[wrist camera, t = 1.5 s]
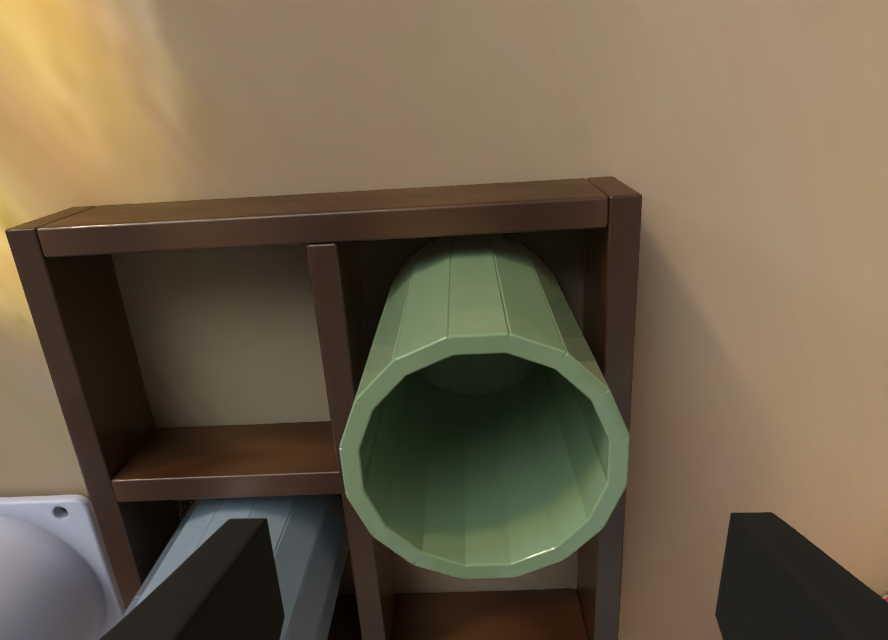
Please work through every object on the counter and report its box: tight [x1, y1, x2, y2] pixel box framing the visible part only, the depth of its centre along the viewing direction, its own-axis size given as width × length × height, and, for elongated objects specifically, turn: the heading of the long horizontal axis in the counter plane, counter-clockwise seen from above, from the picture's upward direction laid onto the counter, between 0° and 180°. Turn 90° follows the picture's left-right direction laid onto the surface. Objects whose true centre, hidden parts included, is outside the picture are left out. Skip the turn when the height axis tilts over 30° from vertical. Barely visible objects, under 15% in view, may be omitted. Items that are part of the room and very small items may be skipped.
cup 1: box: [119, 494, 349, 640], centre depth 19 cm, size 6×6×8 cm
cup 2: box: [339, 234, 630, 579], centre depth 16 cm, size 6×6×8 cm
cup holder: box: [5, 177, 642, 640], centre depth 20 cm, size 16×16×3 cm
